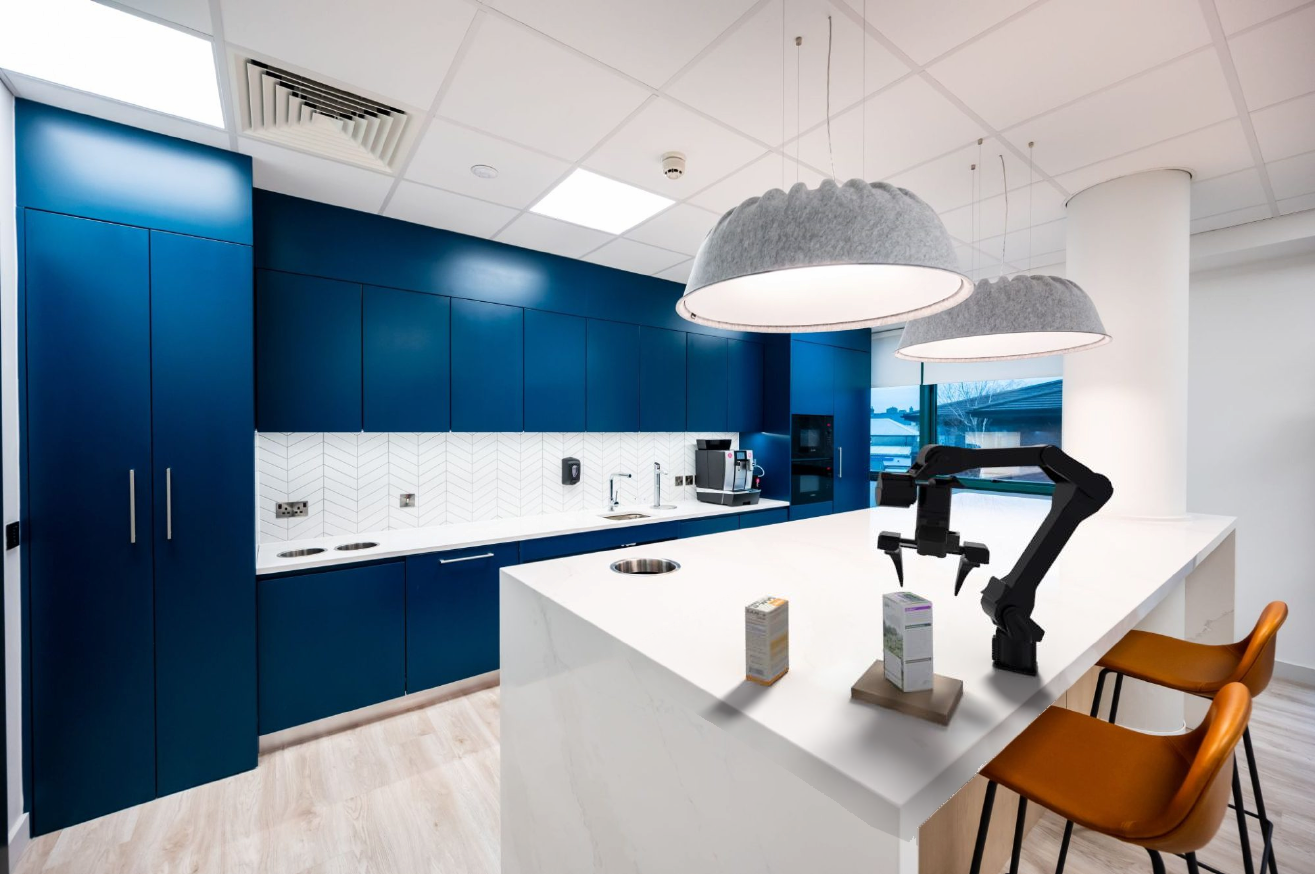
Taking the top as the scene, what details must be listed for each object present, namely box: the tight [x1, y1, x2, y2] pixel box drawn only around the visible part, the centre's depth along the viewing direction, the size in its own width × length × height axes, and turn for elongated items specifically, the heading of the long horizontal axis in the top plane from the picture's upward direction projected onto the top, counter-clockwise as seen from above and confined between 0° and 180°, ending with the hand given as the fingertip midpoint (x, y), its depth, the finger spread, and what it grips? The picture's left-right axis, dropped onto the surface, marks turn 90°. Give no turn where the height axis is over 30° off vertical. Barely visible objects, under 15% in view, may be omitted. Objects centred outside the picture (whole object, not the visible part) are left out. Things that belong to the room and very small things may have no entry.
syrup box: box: [882, 591, 934, 692], centre depth 90 cm, size 6×6×14 cm
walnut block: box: [850, 658, 964, 727], centre depth 90 cm, size 14×14×2 cm
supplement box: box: [744, 595, 790, 687], centre depth 97 cm, size 8×5×13 cm, turn 141°
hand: (928, 591), depth 103 cm, fingers open, 9 cm apart
